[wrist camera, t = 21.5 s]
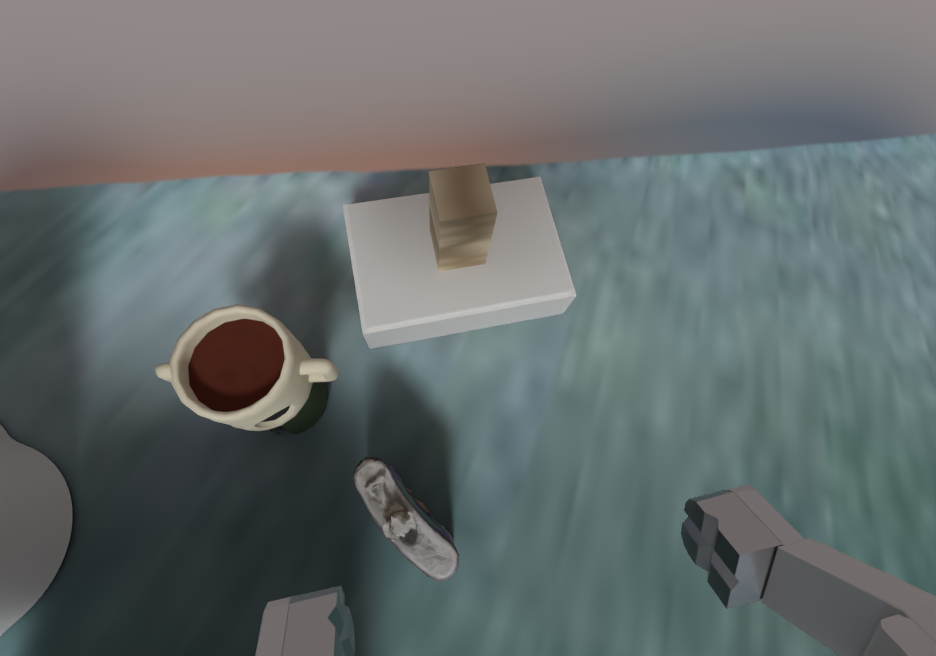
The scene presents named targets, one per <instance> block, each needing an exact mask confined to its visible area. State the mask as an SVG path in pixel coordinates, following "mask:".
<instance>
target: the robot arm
mask: <svg viewBox="0 0 936 656" xmlns="http://www.w3.org/2000/svg"><path fill="white" fill-rule="evenodd" d="M684 511H685V512H686V514H687V515H688V517H687V518H686V520H685V521H684V522H683V523H682V530H681V535H682V539H683V543H684V546H685V548H686V550H687V552H688V554H689V556H690V557H691V559H692V560H693V562H694V563H695V565H697V566H699V567H701V568H702V569H704V570H706V571H708V583H709V585H710V586H711V587H712V589H713V590H714V592H715V593H716V594H717V596H718V597H719V599H720V600H721V602H722V603H723V604H724V606H725V607H726V609H728V608H732V607H736V606H740V605H745V604H749V603H753V602H757V601H761V600H762V603H763V604H765V605H766V606H767V607H769V608H770V609H772V610H773V611H775V612H776V613H778V614H779V615H781V616H782V617H783V618H785V619H786V620H788V621H789V622H791V623H792V624H794V625H795V626H797V627H798V628H799V629H801V630H802V631H804V632H805V633H807V634H808V635H810V636H811V637H813V638H814V639H816V640H817V641H818V642H820V643H821V644H823V645H824V646H826V647H827V648H829V649H830V650H832V651H833V652H834V653H836V654H837V655H839V656H936V596H934V595H932V594H930V593H928V592H925V591H923V590H921V589H919V588H917V587H915V586H912V585H910V584H908V583H906V582H904V581H902V580H900V579H897V578H895V577H893V576H891V575H889V574H887V573H885V572H882V571H880V570H878V569H876V568H874V567H872V566H870V565H867V564H865V563H863V562H861V561H859V560H857V559H854V558H852V557H850V556H848V555H846V554H844V553H842V552H839V551H837V550H835V549H833V548H831V547H829V546H827V545H824V544H822V543H820V542H818V541H816V540H814V539H811V538H810V539H804V538H803V537H802V536H801V535H800V534H799V533H798V532H797V531H796V530H795V529H794V528H793V527H792V526H791V525H790V524H789V523H788V522H787V521H786V520H785V519H784V518H783V517H782V516H781V515H780V514H779V513H778V512H777V511H776V510H775V509H774V508H773V507H772V506H771V505H770V504H769V503H768V502H767V501H766V500H765V499H764V498H763V497H762V496H761V495H760V494H759V493H758V492H757V491H756V490H755V489H754V488H753V487H751V486H749V485H743V486H739V487H736V488H732V489H728V490H721V491H717V492H714V493H710V494H706V495H702V496H699V497H695V498H691V499H689V500H688V501H687V502H686V503H685V508H684ZM72 518H73V517H72V502H71V496H70V493H69V489H68V486H67V484H66V482H65V479H64V477H63V476H62V474H61V472H60V471H59V470H58V468H57V467H56V466H55V465H54V463H53V462H52V461H50V460H49V459H48V458H47V457H46V456H45V455H43V454H42V453H40V452H39V451H37V450H35V449H33V448H31V447H28V446H26V445H24V444H21V443H19V442H17V441H15V440H14V439H12V438H11V437H10V436H9V435H8V434H7V432H6V431H5V429H4V428H3V427H2V425H1V424H0V636H1V635H2V634H3V633H4V632H5V631H6V630H7V629H8V628H9V627H11V626H12V625H13V624H14V623H15V622H16V621H17V620H19V619H20V618H21V617H22V616H23V615H24V614H25V613H26V612H27V611H28V610H29V609H30V608H31V607H32V606H33V605H34V604H35V603H36V602H37V601H38V600H39V598H40V597H41V596H42V595H43V593H44V592H45V591H46V589H47V588H48V586H49V585H50V583H51V582H52V580H53V579H54V577H55V575H56V573H57V572H58V570H59V568H60V566H61V563H62V561H63V559H64V556H65V553H66V551H67V548H68V544H69V540H70V535H71V529H72ZM344 600H345V595H344V592H343V590H342V587H341V586H336V587H332V588H327V589H323V590H318V591H314V592H310V593H305V594H301V595H296V596H291V597H287V598H283V599H279V600H275V601H270V602H268V603H267V605H266V607H265V610H264V612H263V617H262V623H261V628H260V633H259V639H258V644H257V649H256V654H255V656H355V635H354V624H353V619H352V615H351V612H350V609H349V607H347V606H345V605H344Z"/></svg>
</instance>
